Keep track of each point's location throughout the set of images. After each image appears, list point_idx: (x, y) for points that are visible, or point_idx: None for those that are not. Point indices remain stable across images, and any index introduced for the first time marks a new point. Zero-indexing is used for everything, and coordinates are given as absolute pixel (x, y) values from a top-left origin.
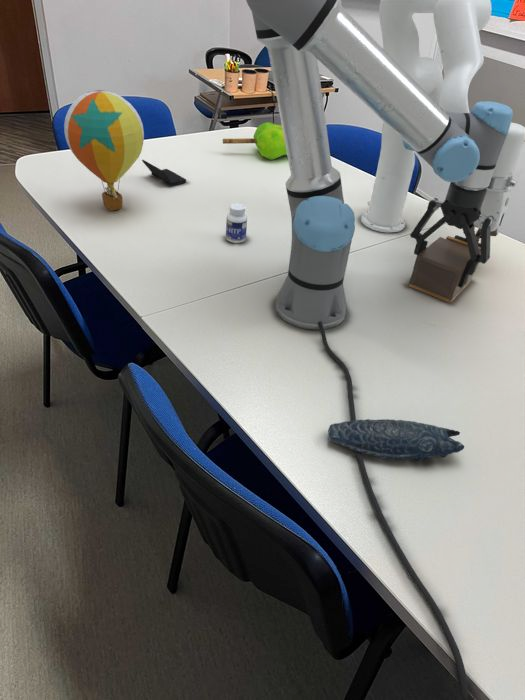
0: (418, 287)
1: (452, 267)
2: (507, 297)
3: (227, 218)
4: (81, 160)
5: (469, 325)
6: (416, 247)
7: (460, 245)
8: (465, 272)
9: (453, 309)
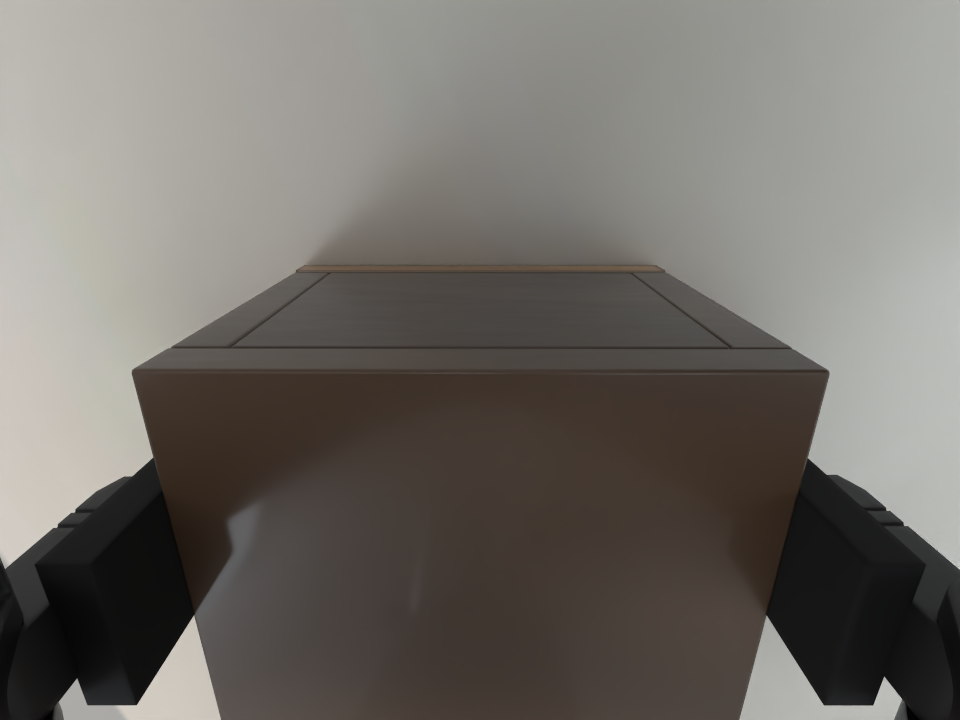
0: (579, 270)
1: (278, 387)
2: None
3: None
4: None
5: (31, 60)
6: (900, 533)
7: None
8: None
9: (244, 202)
